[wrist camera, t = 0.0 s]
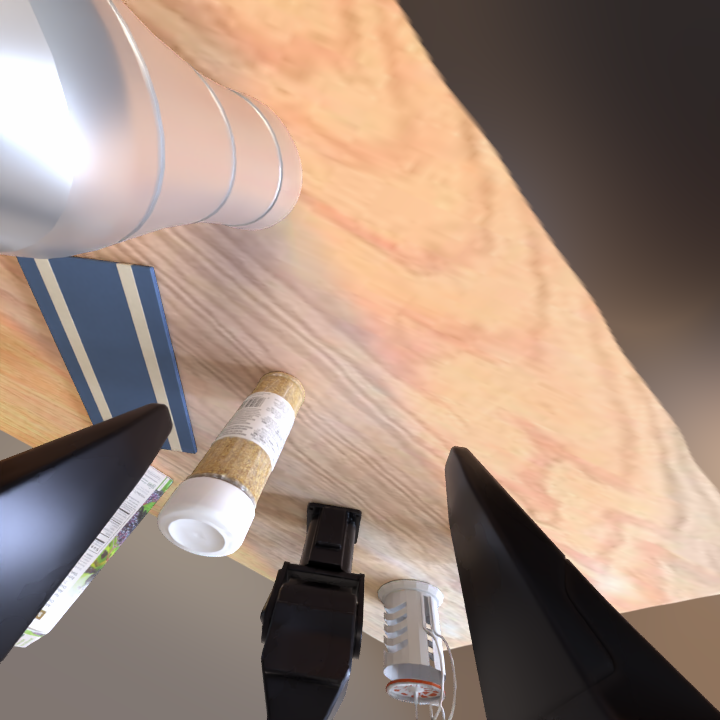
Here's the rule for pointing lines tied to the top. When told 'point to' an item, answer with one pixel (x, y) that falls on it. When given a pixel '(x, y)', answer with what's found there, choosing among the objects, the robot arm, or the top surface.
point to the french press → (414, 644)
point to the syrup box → (99, 552)
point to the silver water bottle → (124, 135)
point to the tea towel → (112, 337)
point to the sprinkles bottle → (233, 472)
